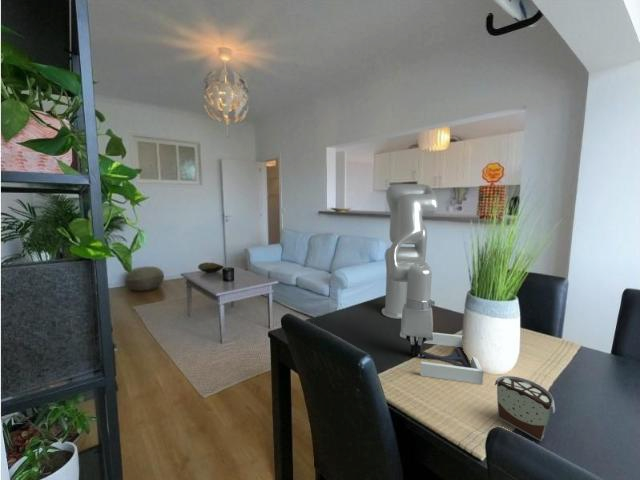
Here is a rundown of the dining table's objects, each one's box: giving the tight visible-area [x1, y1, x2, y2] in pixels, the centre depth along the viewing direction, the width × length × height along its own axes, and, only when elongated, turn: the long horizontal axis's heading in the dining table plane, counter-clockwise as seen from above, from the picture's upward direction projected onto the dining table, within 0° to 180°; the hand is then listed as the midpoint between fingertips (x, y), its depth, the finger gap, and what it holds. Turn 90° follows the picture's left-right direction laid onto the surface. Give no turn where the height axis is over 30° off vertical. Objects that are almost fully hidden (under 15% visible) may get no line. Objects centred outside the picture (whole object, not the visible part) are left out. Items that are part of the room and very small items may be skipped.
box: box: [415, 331, 484, 385], centre depth 102 cm, size 23×17×4 cm
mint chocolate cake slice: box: [494, 375, 556, 443], centre depth 73 cm, size 12×6×10 cm, turn 35°
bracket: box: [418, 347, 471, 368], centre depth 102 cm, size 14×15×3 cm
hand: (415, 354), depth 105 cm, fingers closed
